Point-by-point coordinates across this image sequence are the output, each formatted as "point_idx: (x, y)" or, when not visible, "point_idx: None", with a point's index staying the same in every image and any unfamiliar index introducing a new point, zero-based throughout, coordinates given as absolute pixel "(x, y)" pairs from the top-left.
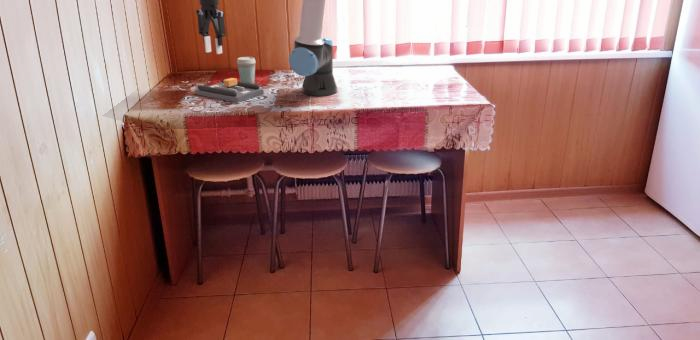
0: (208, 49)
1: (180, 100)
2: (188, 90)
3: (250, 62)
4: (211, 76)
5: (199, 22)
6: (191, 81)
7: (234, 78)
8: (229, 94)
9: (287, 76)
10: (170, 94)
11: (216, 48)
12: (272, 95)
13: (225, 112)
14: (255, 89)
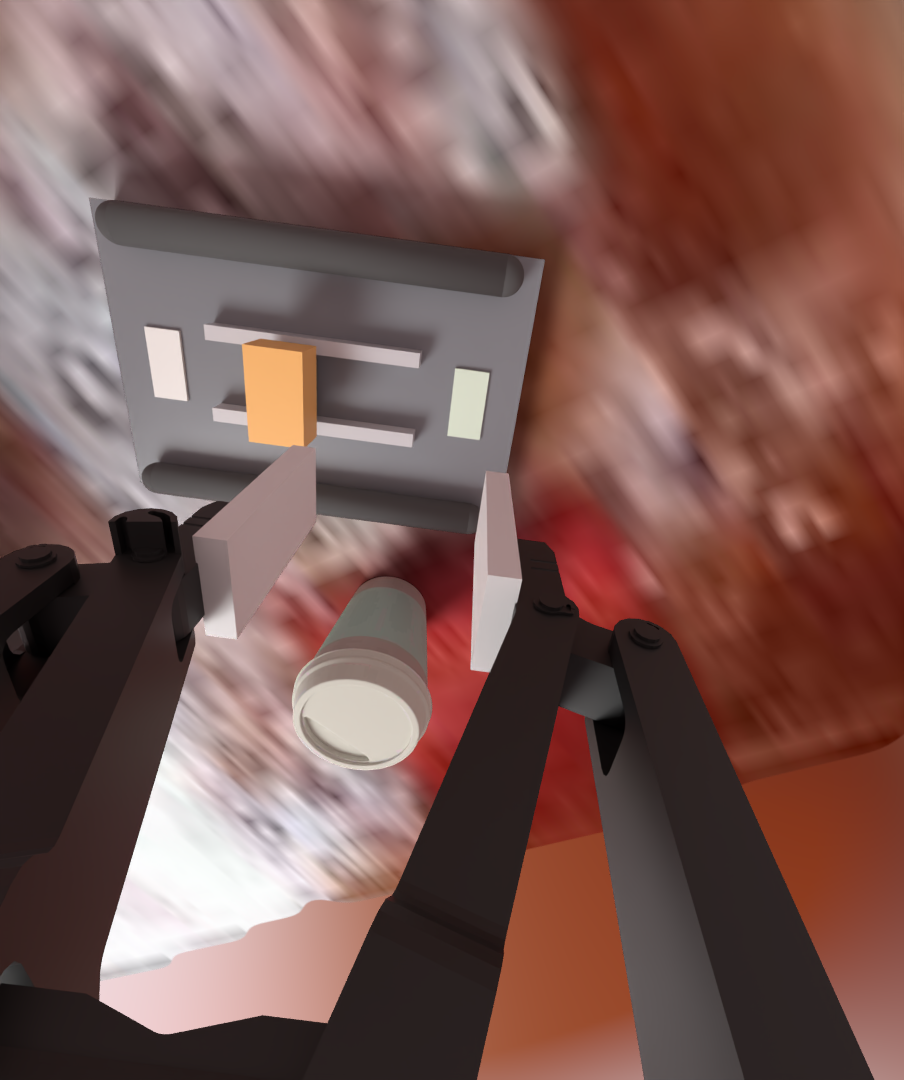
0: (481, 516)
1: (539, 5)
2: (659, 334)
3: (296, 686)
4: (702, 678)
5: (710, 863)
6: (768, 545)
7: (268, 438)
8: (163, 207)
9: (326, 787)
10: (737, 151)
11: (285, 472)
12: (91, 465)
13: None
14: (176, 459)
